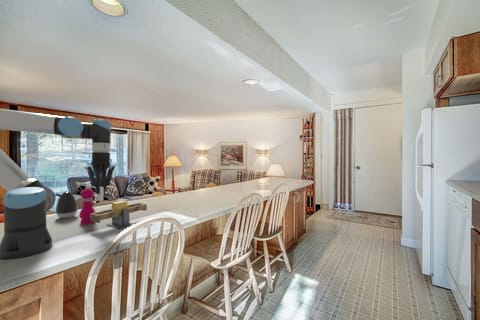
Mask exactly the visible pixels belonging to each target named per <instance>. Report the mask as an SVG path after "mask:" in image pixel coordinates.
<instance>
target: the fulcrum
mask: <svg viewBox="0 0 480 320" xmlns="http://www.w3.org/2000/svg"><path fill="white" fill-rule="evenodd" d="M132 224H134V223H132V222H130V213H129V209H123V210H122V215H120V216H116V217H112V218H111V222H109V223H106V226H108V227H111V228H114V229H117V230H122V229H125V228H129V227H131V226H130V225H132ZM128 226H129V227H128Z"/></svg>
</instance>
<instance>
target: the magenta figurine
mask: <svg viewBox="0 0 480 320" xmlns="http://www.w3.org/2000/svg"><path fill="white" fill-rule="evenodd" d="M94 195H95V191H94V190H93V189H92V188H90V186H89V185H87V186H85V188H84V189H83V190H82V191H80V196H81V202H82V207H81V209H80V212H79V215H78V217H79V218H80V225H82V226H83V225H91V224H93V223H95V222H93V221H90V214H91V213H95V212H96V210H95V209H94V206H93V201H94Z"/></svg>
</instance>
